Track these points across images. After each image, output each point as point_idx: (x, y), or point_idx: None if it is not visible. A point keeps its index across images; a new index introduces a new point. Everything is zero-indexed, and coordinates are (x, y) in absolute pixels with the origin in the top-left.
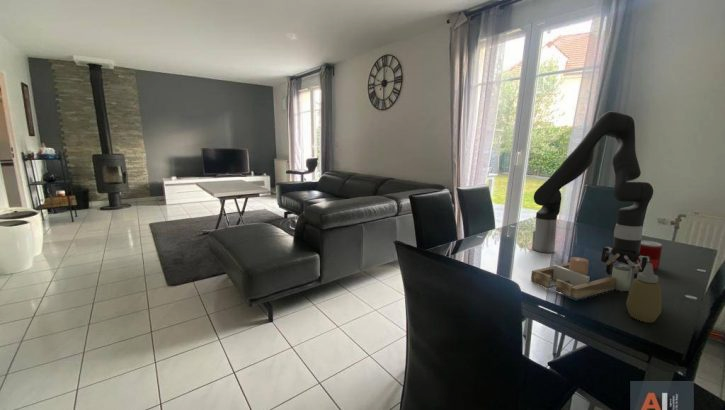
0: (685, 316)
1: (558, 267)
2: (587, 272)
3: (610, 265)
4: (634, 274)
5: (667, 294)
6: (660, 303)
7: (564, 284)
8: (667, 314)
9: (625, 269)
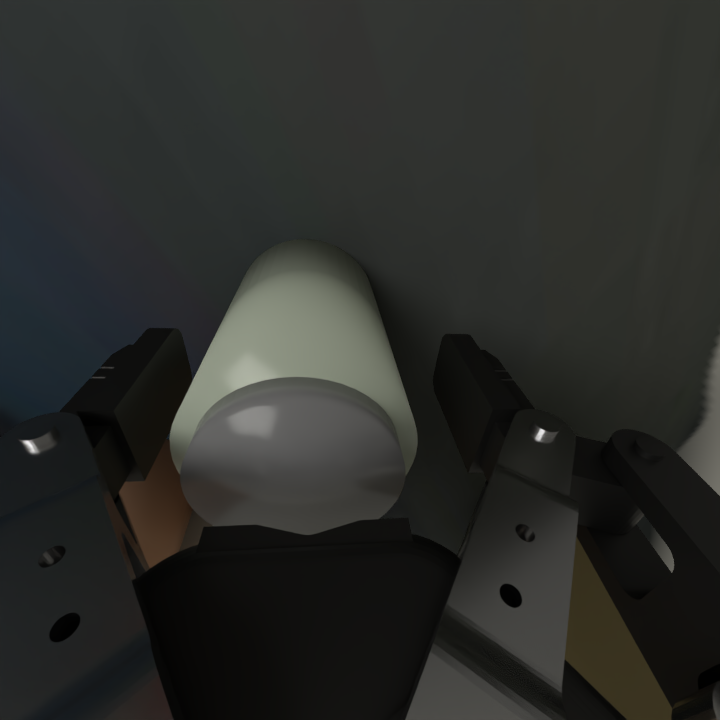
0: (676, 367)
1: None
2: (153, 565)
3: (130, 466)
4: (461, 455)
5: (629, 25)
6: None
7: None
8: (600, 415)
9: (372, 511)
